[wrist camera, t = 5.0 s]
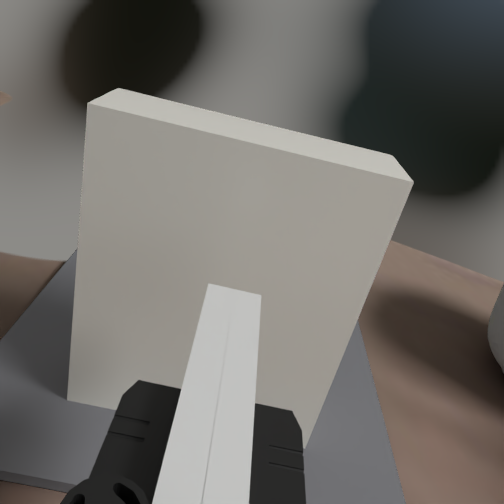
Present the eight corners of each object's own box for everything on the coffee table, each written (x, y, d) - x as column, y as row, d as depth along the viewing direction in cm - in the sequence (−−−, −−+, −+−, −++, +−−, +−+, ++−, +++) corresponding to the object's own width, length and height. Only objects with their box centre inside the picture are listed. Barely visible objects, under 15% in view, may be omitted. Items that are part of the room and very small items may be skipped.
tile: (305, 448, 20) (413, 182, 14) (67, 400, 19) (87, 102, 14) (301, 392, 23) (390, 153, 17) (94, 349, 22) (120, 86, 17)
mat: (412, 558, 17) (418, 550, 17) (-92, 461, 16) (-94, 452, 16) (340, 267, 37) (342, 261, 37) (110, 214, 36) (110, 208, 36)
